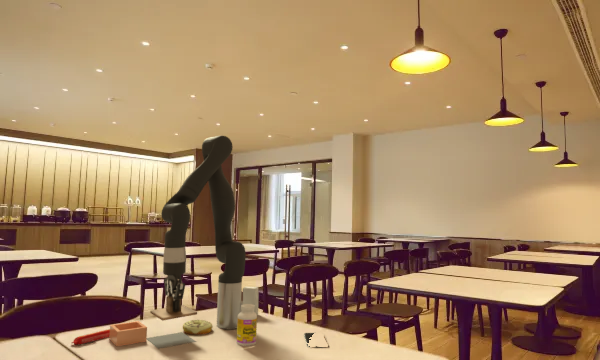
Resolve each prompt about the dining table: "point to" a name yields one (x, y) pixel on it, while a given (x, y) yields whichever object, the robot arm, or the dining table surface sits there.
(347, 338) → the dining table surface
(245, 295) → the skincare box
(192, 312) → the lid
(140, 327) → the open box
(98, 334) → the candy bar
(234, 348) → the dining table surface
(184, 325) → the decorated donut
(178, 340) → the mat
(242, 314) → the supplement bottle
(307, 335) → the smartphone
